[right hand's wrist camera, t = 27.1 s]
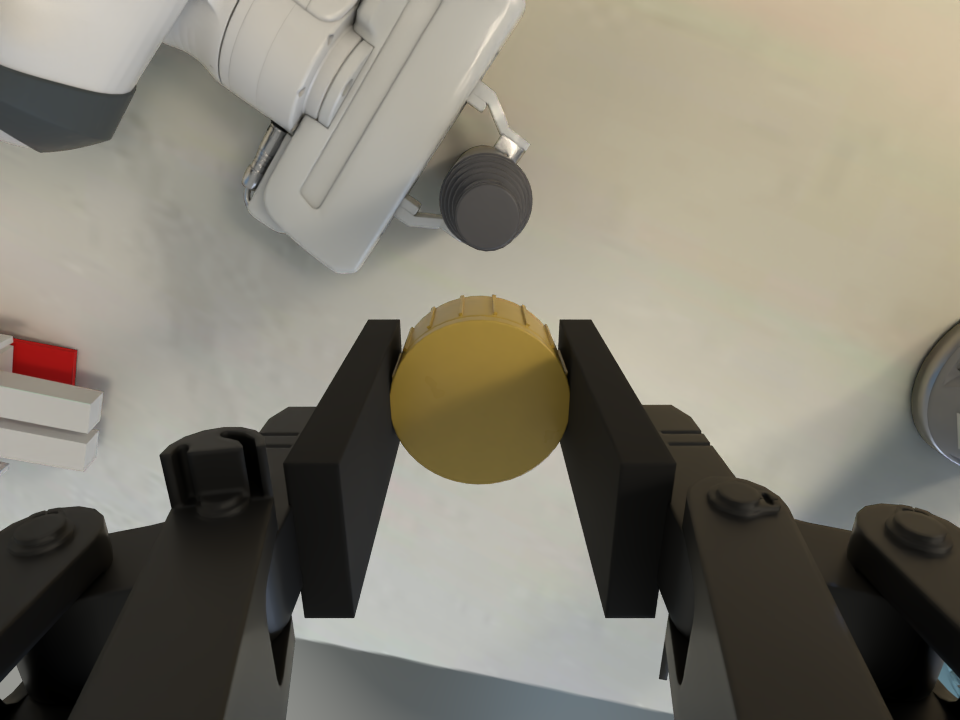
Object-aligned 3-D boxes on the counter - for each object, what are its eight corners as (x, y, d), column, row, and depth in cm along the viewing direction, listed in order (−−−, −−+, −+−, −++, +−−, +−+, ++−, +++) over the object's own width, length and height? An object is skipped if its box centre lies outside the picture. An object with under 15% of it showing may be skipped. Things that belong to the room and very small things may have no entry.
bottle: (464, 218, 45) (454, 288, 25) (443, 158, 43) (413, 181, 23) (522, 197, 44) (558, 252, 24) (502, 136, 43) (524, 139, 23)
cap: (595, 374, 14) (612, 409, 12) (477, 471, 15) (477, 517, 13) (483, 257, 13) (484, 277, 11) (364, 370, 14) (348, 405, 12)
